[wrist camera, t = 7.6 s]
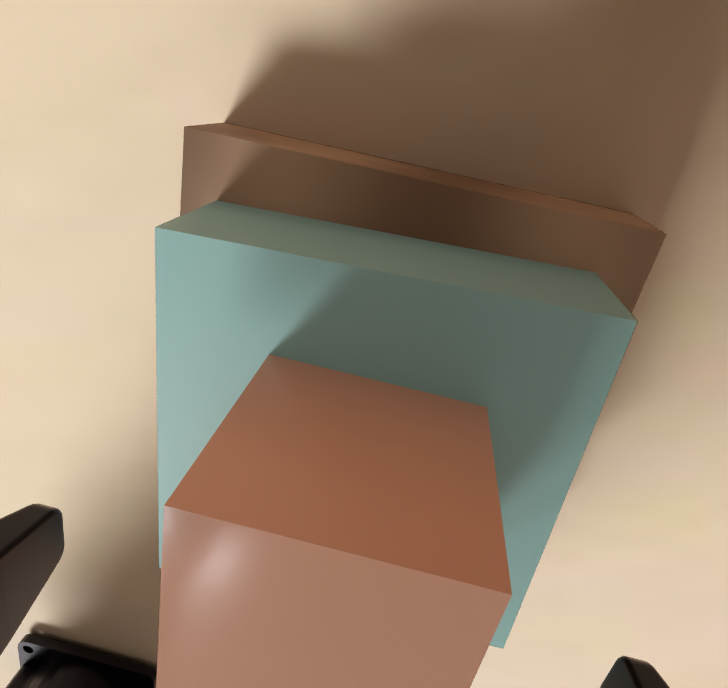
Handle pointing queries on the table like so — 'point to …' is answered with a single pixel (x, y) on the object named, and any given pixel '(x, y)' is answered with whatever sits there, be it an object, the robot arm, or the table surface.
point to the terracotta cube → (334, 540)
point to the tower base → (414, 203)
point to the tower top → (388, 343)
